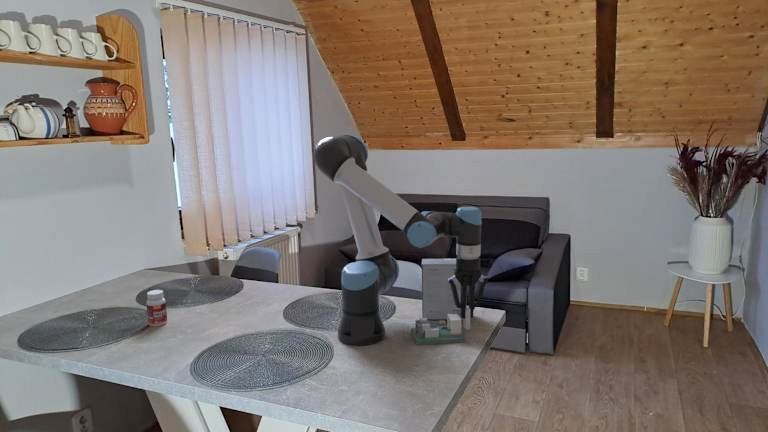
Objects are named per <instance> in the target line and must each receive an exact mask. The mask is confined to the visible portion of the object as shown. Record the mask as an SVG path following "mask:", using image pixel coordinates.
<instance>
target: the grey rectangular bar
mask: <svg viewBox="0 0 768 432" xmlns="http://www.w3.org/2000/svg"><path fill="white" fill-rule="evenodd" d="M422 324H430V327H433V326H447V325H446V324H447V323H446V320H445V319H439V320H436V321H427V322H424V323H419V322H417V323H416V325H417V327H418V325H422Z"/></svg>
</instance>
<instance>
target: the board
mask: <svg viewBox="0 0 768 432" xmlns="http://www.w3.org/2000/svg"><path fill="white" fill-rule="evenodd" d="M417 322H419V323H424V322H428V319H427V318H422V317H419V319H415V321H414V323H415V324H414V325H415V327H411V333H412V336H413V338H414V341H415V343H416V345H417V346H421V345H435V344H450V343H451V344H452V343H453V344H454V343H465V336H464V335H463V334H462V332H461V334H451V329H448V328H447V325H444V326H433V327H430V324H422V325H418V327H417V325H416V323H417Z"/></svg>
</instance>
